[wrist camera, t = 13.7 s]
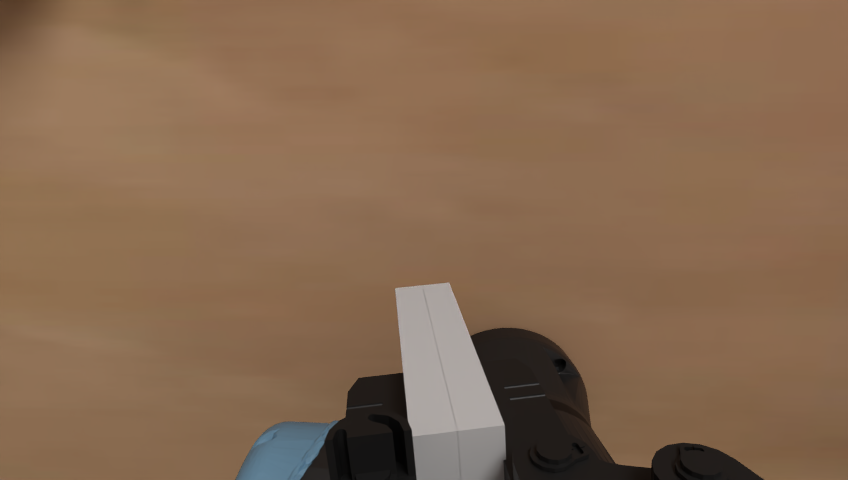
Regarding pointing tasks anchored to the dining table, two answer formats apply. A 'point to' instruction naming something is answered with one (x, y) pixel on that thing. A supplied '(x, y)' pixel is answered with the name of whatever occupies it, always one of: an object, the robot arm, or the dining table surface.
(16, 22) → the dining table surface
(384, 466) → the robot arm
